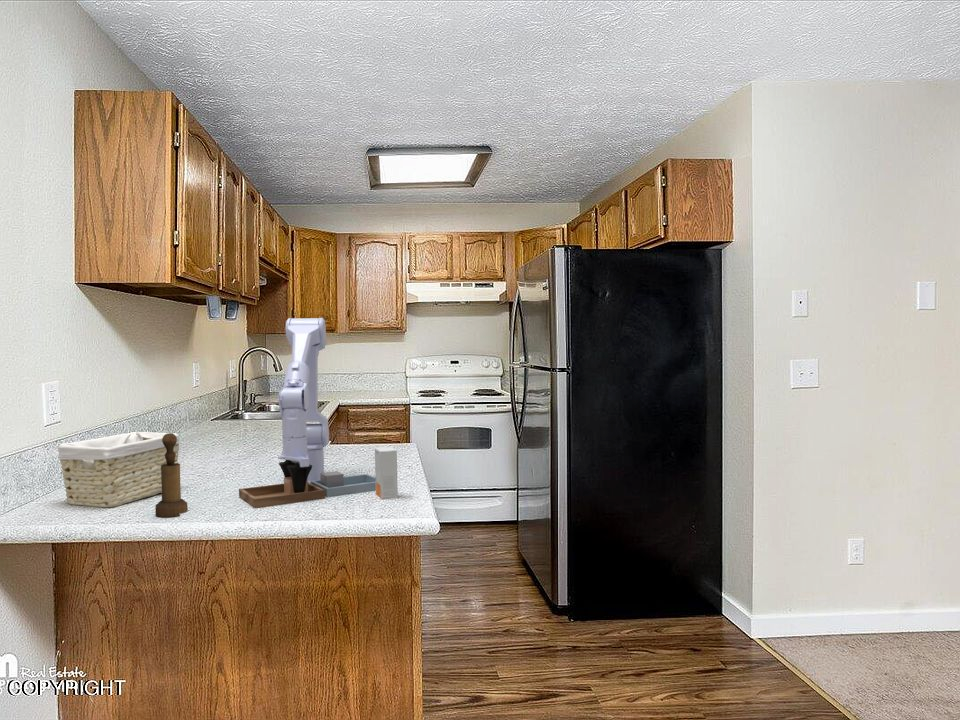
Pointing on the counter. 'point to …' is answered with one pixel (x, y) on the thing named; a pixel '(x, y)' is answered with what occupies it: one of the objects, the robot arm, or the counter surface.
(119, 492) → the storage basket
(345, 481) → the slate tray
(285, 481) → the russet cube
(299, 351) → the robot arm
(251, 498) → the walnut bin
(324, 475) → the grey cube
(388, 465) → the skincare box
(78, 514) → the counter surface
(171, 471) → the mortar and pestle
